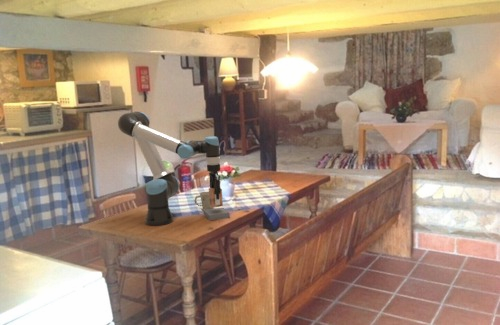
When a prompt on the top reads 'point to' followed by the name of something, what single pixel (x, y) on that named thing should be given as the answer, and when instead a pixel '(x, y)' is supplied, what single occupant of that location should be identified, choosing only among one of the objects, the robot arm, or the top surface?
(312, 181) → the top surface
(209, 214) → the base
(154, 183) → the robot arm
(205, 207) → the mug
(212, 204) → the block
